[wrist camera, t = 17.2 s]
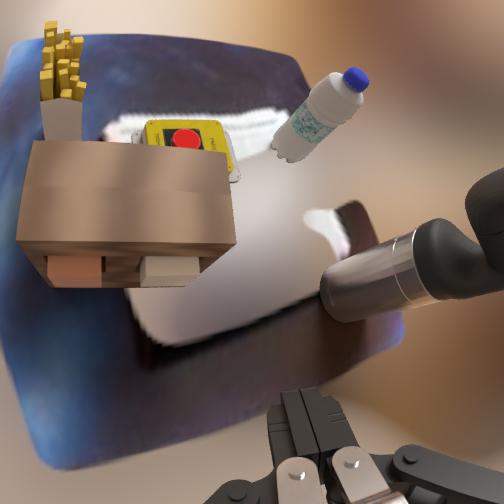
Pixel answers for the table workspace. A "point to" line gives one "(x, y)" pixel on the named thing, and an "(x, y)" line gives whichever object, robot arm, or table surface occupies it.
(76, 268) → the terracotta key
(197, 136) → the emergency button
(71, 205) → the key panel
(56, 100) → the french fries container
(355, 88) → the bottle
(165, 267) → the ivory key
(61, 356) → the table surface
